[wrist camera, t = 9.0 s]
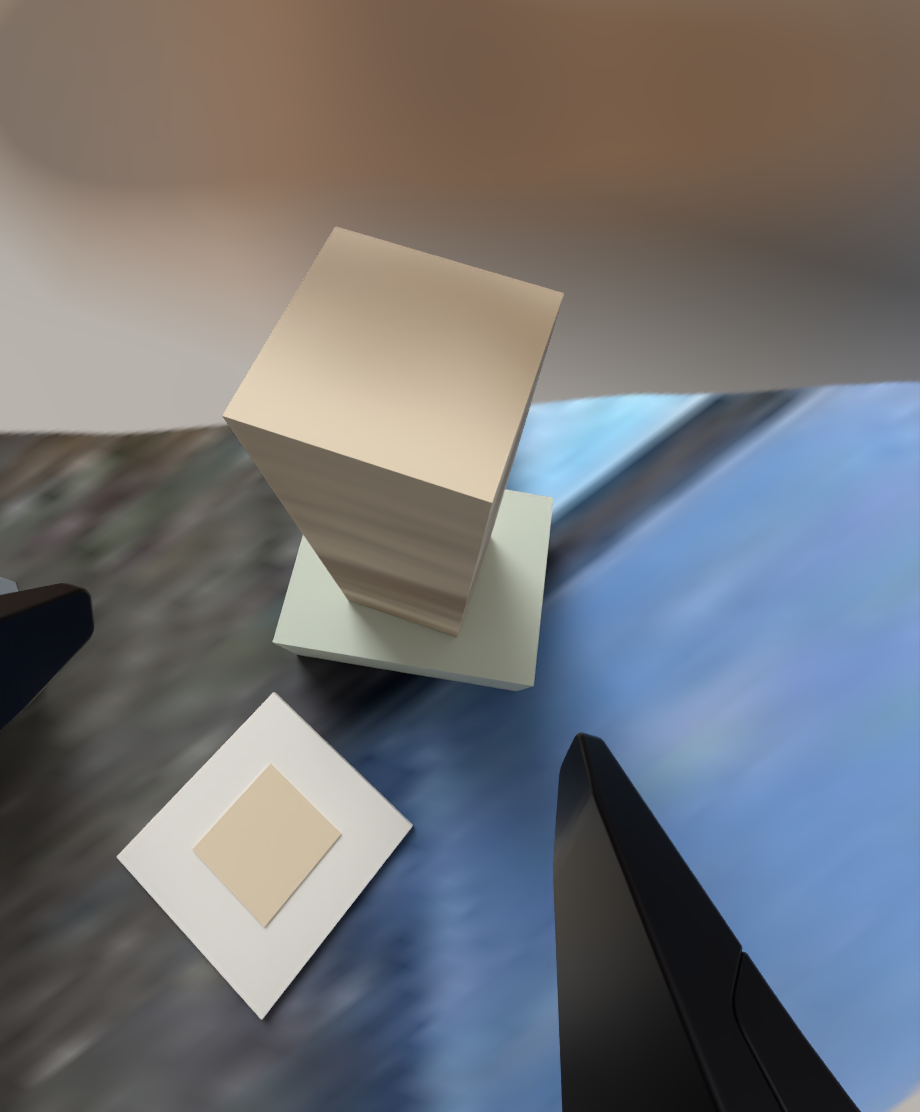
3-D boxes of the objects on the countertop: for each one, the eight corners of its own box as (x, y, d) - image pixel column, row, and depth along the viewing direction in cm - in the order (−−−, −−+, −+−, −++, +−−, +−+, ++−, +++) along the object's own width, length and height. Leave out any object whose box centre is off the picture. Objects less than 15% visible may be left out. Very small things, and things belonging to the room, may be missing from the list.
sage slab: (299, 655, 22) (272, 642, 18) (340, 498, 25) (324, 458, 21) (515, 692, 22) (533, 686, 18) (533, 531, 25) (553, 497, 21)
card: (264, 1014, 18) (260, 1021, 17) (121, 854, 19) (114, 857, 19) (413, 824, 20) (412, 826, 20) (275, 692, 21) (273, 692, 21)
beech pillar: (456, 637, 19) (492, 503, 7) (348, 600, 19) (222, 416, 8) (491, 535, 20) (563, 293, 9) (389, 502, 21) (335, 226, 9)
